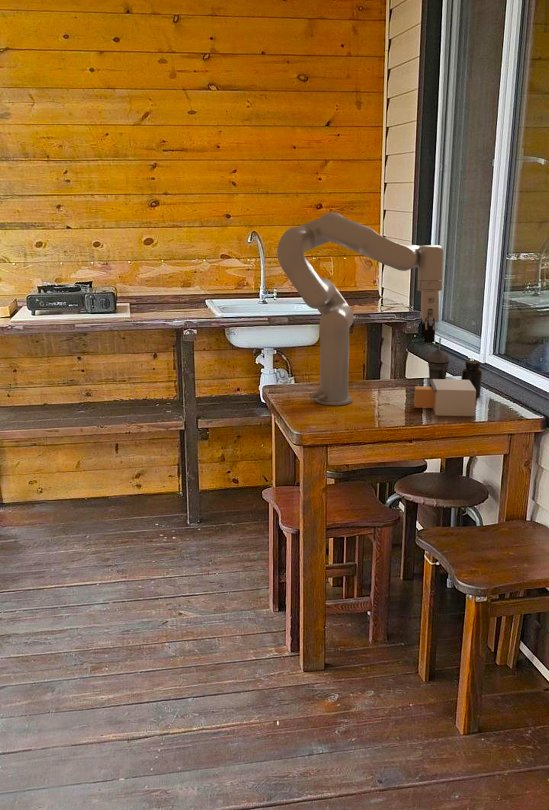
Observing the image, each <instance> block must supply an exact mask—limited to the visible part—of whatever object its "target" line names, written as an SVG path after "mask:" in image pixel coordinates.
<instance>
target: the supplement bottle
mask: <svg viewBox="0 0 549 810" xmlns="http://www.w3.org/2000/svg"><path fill="white" fill-rule="evenodd" d="M464 367H465V368H463V369H462V371H461V378H460V380H470V381H471V383H472V385H473V386H474V388H475V389H476V399H478V398H479V397H481V392H482V380H483V371H482V370H481V369H480V368H481V361H478V360H466V361H465V366H464Z"/></svg>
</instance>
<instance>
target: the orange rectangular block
mask: <svg viewBox="0 0 549 810" xmlns="http://www.w3.org/2000/svg"><path fill="white" fill-rule="evenodd" d="M413 397H414V399H413V406H414V408H420V409H421V408H426V409H428V408H429V409H430V408H431V409H433V408H434V400H435V392H434V390H433V388H432V387H429V386H423V385H421V386H420V385H419V386H418V385H417V386H414V396H413Z"/></svg>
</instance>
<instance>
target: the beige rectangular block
mask: <svg viewBox="0 0 549 810" xmlns="http://www.w3.org/2000/svg"><path fill="white" fill-rule="evenodd" d="M430 383H431V386H432V388H433V390H434V392H435V400H434V408H432V410H433V413H434V415H435V416H446V417H447V416H450V417H453V416H454V417H455V416H456V417H475V412H476V411H475V410H476V399H477V398H476V389H475V388H474V386H473V385H472V383H471V381H470V380H461V379H452V378H451V379H447V378H446V379H430Z"/></svg>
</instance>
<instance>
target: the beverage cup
mask: <svg viewBox="0 0 549 810" xmlns="http://www.w3.org/2000/svg"><path fill="white" fill-rule="evenodd" d="M438 339H439V340H438V349H435V350H433V351H432V352H431V353H430V354H429V355H428V360H427V365H428V375H429V376H428V380H429V381H428V382H429V385H428V387H432V386H431V383H430V379H447V371H448V367H449V363H450V360H449V356H448V353H447V352H446V351H444V350H443V349H441V342H442V337H439V338H438Z"/></svg>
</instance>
